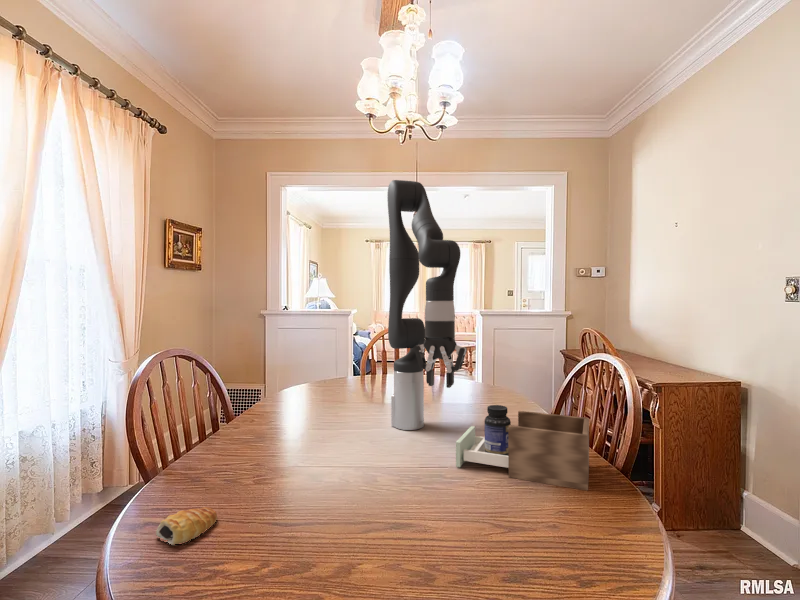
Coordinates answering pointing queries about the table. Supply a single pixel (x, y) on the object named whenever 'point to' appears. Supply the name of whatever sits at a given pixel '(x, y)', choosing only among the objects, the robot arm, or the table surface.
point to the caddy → (550, 449)
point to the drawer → (476, 451)
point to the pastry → (186, 525)
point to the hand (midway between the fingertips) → (440, 386)
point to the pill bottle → (496, 430)
